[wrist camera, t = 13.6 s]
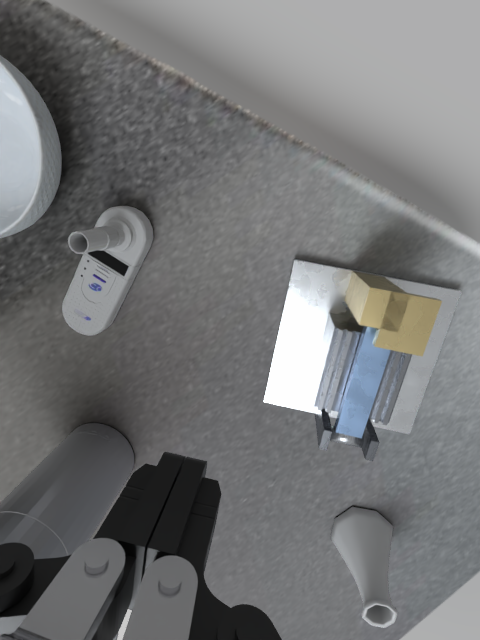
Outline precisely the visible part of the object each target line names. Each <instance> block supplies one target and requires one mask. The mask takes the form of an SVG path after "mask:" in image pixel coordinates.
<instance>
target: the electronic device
mask: <svg viewBox="0 0 480 640" xmlns="http://www.w3.org/2000/svg"><path fill="white" fill-rule="evenodd" d="M152 241H153V228H152V226H151V223H150V221H149V219H148V218H147V217H146V216H145V215H144V213H143V212H141V211H140V210H138V209H136V208H133V207H129V206H117V207H111V208H109V209H107V210H106V211H104V212H103V213H102V214H101V216H100V217H99V219H98V221H97V223H96V225H95V228H93V229H91V230H84V231H77V232H73V233H71V235H70V236H69V238H68V244H69V247H70V248H71V250H72V251H74V252H75V253H76V254H83V256H82V258H81V261H80V263H79V265H78V268H77V270H76V272H75V275H74V277H73V279H72V282H71V284H70V287H69V289H68V291H67V294H66V296H65V298H64V301H63V304H62V312H63V316H64V319H65V321H66V322H67V324H68V325H69V326H70V327H71V328H72V329H74V330H75V331H77V332H78V333H81V334H83V335H88V336H92V335H96V334H99V333H100V332H102V331H103V330H105V329H106V328H108V327H109V326H110V325H111V324H112V323H113V321H114V319H115V317H116V315H117V313H118V311H119V309H120V307H121V305H122V303H123V301H124V299H125V297H126V295H127V293H128V291H129V289H130V287H131V285H132V283H133V281H134V279H135V277H136V275H137V273H138V271H139V269H140V267H141V265H142V263H143V261H144V259H145V257H146V255H147V253H148V251H149V249H150V247H151V244H152Z"/></svg>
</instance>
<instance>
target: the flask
mask: <svg viewBox="0 0 480 640" xmlns="http://www.w3.org/2000/svg"><path fill="white" fill-rule="evenodd" d="M392 533H393V526H392V525H391V524H390V523H389V522H388V521H387V520H386V519H385V518H384V517H383V516H381V515H380V514H379V513H378V512H377V511H373V510H367V509H362V508H356V507H351V508H350V509H348V510H347V511H346V512H344V513H343V514H341V515H340V516H338V517H337V518H335V519H334V524H333V528H332V533H331V539H332V541H333V542H334V544H335V546H336V547H337V549H338V551H339V552H340V554H341V555H342V557H343V559H344V561H345V562H346V564H347V566H348V568H349V569H350V571H351V573H352V575H353V577H354V578H355V580H356V583H357V586H358V588H359V591H360V594H361V597H362V602H363V611H362V618H363V619H365V620H366V621H367V622H368V623H369V624H370V625H372V626H377V627H382V628H386V627H387V626H389V625H391V624H393V623H395V620H396V617H397V614H398V613H397V610H396V608H395V607H394V606H393V605H392V602H391V598H390V594H389V584H388V568H389V557H390V548H391V541H392Z"/></svg>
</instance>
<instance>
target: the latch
mask: <svg viewBox="0 0 480 640" xmlns="http://www.w3.org/2000/svg"><path fill="white" fill-rule="evenodd" d="M344 301H345V302H346V304H347V306H348V307H349V309H350V310H351V312H352V314H353V315H354V317H355V319H356V320H357V322H358V324H359V325H363V326H368V327H373V328H377V330H376V333H375V336H374V340H373V345H374V347H378V348H383V349H388V350H393V351H398V352H403V353H408V354H413V355H417V356H422V357H423V354H424V351H425V348H426V346H427V343H428V340H429V337H430V334H431V331H432V329H433V326H434V323H435V320H436V317H437V314H438V312H439V309H440V306H441V303H442V301H441V300H439V299H437V298H431V297H426V296H421V295H416V294H411V293H407V292H405V291H404V290H402V289H401V288H399V287H398V286H396V285H395V284H394V283H392V282H391V281H389V280H388V279H386V278H385V277H382V276H377V275H372V274H367V273H361V272H356V271H352V274H351V278H350V281H349V285H348V289H347V292H346V296H345V300H344Z"/></svg>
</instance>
